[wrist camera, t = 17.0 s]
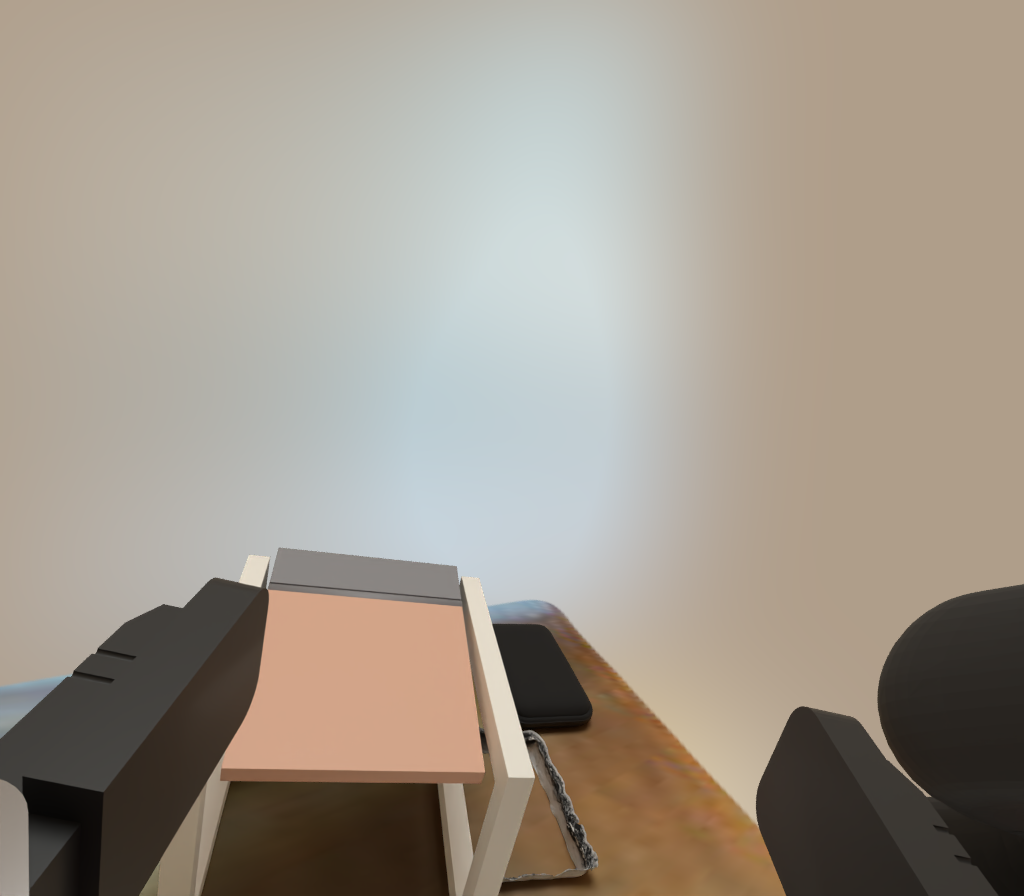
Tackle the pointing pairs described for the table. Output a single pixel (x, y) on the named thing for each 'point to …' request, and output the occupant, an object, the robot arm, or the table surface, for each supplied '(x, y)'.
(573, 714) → the carrying case or bag
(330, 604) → the trapdoor
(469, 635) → the trapdoor stand
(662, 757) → the table surface
